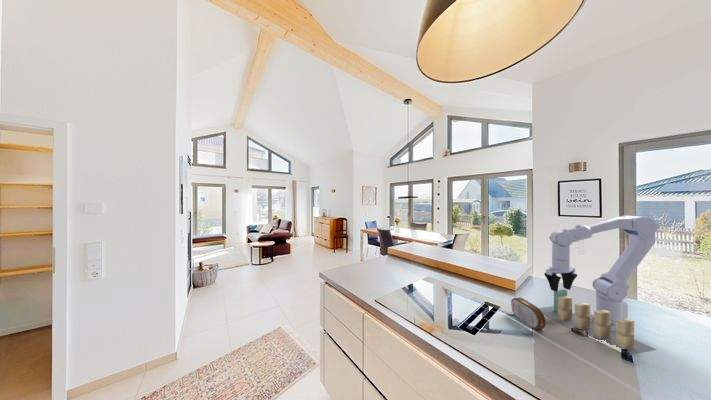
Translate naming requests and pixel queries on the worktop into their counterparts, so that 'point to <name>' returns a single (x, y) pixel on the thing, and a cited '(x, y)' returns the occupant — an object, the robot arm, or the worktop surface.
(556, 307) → the domino
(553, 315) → the felt mat
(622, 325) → the domino
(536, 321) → the tin
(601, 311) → the domino
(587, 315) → the domino
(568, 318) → the domino
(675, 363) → the worktop surface
